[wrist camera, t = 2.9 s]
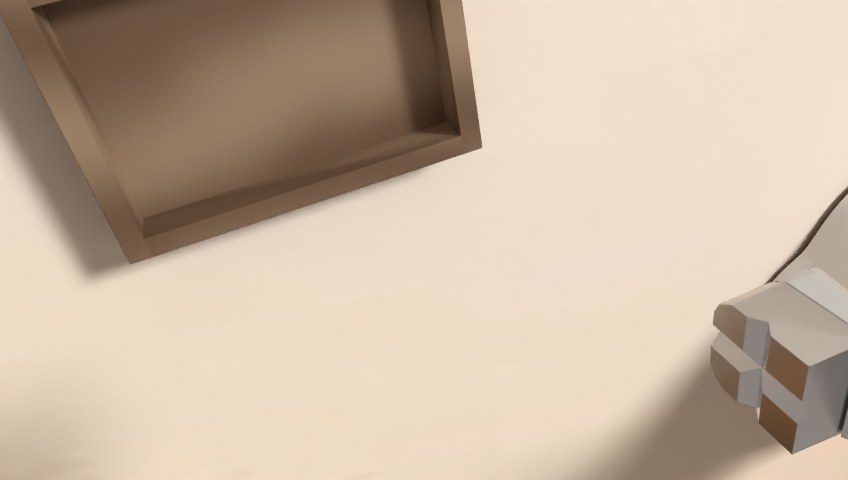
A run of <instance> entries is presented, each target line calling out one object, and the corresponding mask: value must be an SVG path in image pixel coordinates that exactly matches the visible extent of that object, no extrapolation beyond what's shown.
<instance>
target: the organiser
mask: <svg viewBox="0 0 848 480" xmlns="http://www.w3.org/2000/svg"><path fill="white" fill-rule="evenodd" d="M0 13H1V15H2V17H3V19H4V21H5V23H6V25H7V27H8V29H9V31H10V33H11V35H12V36H13V38H14V40H15V42H16V44H17V46H18V48H19V50H20V52H21V54H22V56H23V58H24V60H25V62H26V64H27V66H28V67H29V69H30V71H31V73H32V75H33V77H34V79H35V81H36V83H37V85H38V87H39V89H40V91H41V93H42V95H43V97H44V98H45V100H46V102H47V104H48V106H49V108H50V110H51V112H52V114H53V116H54V118H55V120H56V122H57V124H58V126H59V128H60V129H61V131H62V133H63V135H64V137H65V139H66V141H67V143H68V145H69V147H70V149H71V151H72V153H73V155H74V157H75V158H76V160H77V162H78V164H79V166H80V168H81V170H82V172H83V174H84V176H85V178H86V180H87V182H88V184H89V186H90V188H91V189H92V191H93V193H94V195H95V197H96V199H97V201H98V203H99V205H100V207H101V209H102V211H103V213H104V215H105V217H106V219H107V220H108V222H109V224H110V226H111V228H112V230H113V232H114V234H115V236H116V238H117V240H118V242H119V244H120V246H121V248H122V250H123V251H124V253H125V255H126V257H127V259H128V261H129V263H130V264H133V263H136V262H139V261H142V260H145V259H148V258H151V257H154V256H157V255H160V254H163V253H166V252H169V251H172V250H175V249H178V248H181V247H184V246H187V245H190V244H193V243H196V242H199V241H202V240H205V239H208V238H211V237H214V236H217V235H221V234H224V233H227V232H230V231H233V230H236V229H239V228H242V227H245V226H248V225H251V224H254V223H257V222H260V221H263V220H266V219H269V218H272V217H275V216H278V215H281V214H284V213H287V212H290V211H293V210H296V209H299V208H302V207H305V206H308V205H311V204H314V203H317V202H320V201H323V200H326V199H329V198H332V197H335V196H338V195H341V194H344V193H347V192H350V191H353V190H356V189H359V188H362V187H365V186H368V185H371V184H374V183H377V182H380V181H383V180H386V179H389V178H393V177H396V176H399V175H402V174H405V173H408V172H411V171H414V170H417V169H420V168H423V167H426V166H429V165H432V164H435V163H438V162H441V161H444V160H447V159H450V158H453V157H456V156H459V155H462V154H465V153H468V152H471V151H474V150H477V149H480V148H482V142H481V135H480V127H479V120H478V113H477V106H476V99H475V92H474V85H473V77H472V70H471V63H470V56H469V49H468V42H467V35H466V27H465V20H464V13H463V6H462V0H0Z"/></svg>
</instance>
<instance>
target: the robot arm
mask: <svg viewBox="0 0 848 480" xmlns="http://www.w3.org/2000/svg"><path fill="white" fill-rule="evenodd" d="M713 325H714V326H715V327H716V328H717V329H718V330H720V333H719V334H718V336H717V338H716V339H715V341H714V342H713V344H712V345H711V364H712V367H713V369H714V372H715V375H716V377H717V379H718V381H719V382H720V384H721V385H722V386H723V388H724V389H725V391H726V392H727V393H728V394H729V395H730V396H731V397H732V398H733V399H734V400H735V401H736V402H738V403H741V404H744V405H747V406H750V407H754V408H756V411H757V417H758V423H759V424H760V425H761V426H762V427H764V428H765V429H766V430H767V431H768V432H769V433H770V434H771V435H772V436H773V437H774V438H775V439H776V440H777V441H778V442H779V443H780V444H781V445H782V446H784V447H785V448H786V449H787V450H788V451H789V452H790V453H791V454H794V453H796V452H799V451H801V450H803V449H806V448H808V447H810V446H813V445H815V444H817V443H820V442H822V441H824V440H827V439H829V438H831V437H833V436H836V435H838V434H840V433H841V437H843V438H845V439H848V194H847V195H846V196H845V197H844V198H843V199H842V200H841V202H840V203H839V204H838V205H837V206H836V207H835V209H834V210H833V211H832V212H831V214H830V215H829V216H828V218H827V219H826V220H825V222H824V223H823V225H822V226H821V227H820V229H819V230H818V232H817V233H816V235H815V236H814V238H813V239H812V241H811V242H810V243H809V245H808V246H807V247H806V249H805V250H804V251H803V252H802V253H801V254H800V255H799V256H798V257H797V258H796V259H795V260H794V261H793V262H792V263H790V264H789V265H788V266H787V267H786V268H785V269H784V270H783V271H782V272H781V273H780V274H779V275H778V276H777V277H776V278H775V279H774V281H773V282H770V283H768V284H765V285H763V286H761V287H758V288H756V289H754V290H751V291H749V292H747V293H744V294H742V295H739V296H737V297H735V298H732V299H730V300H728V301H725V302H723V303H721V304H719V305H718V307H717V308H716V310H715V311H714V319H713Z"/></svg>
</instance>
